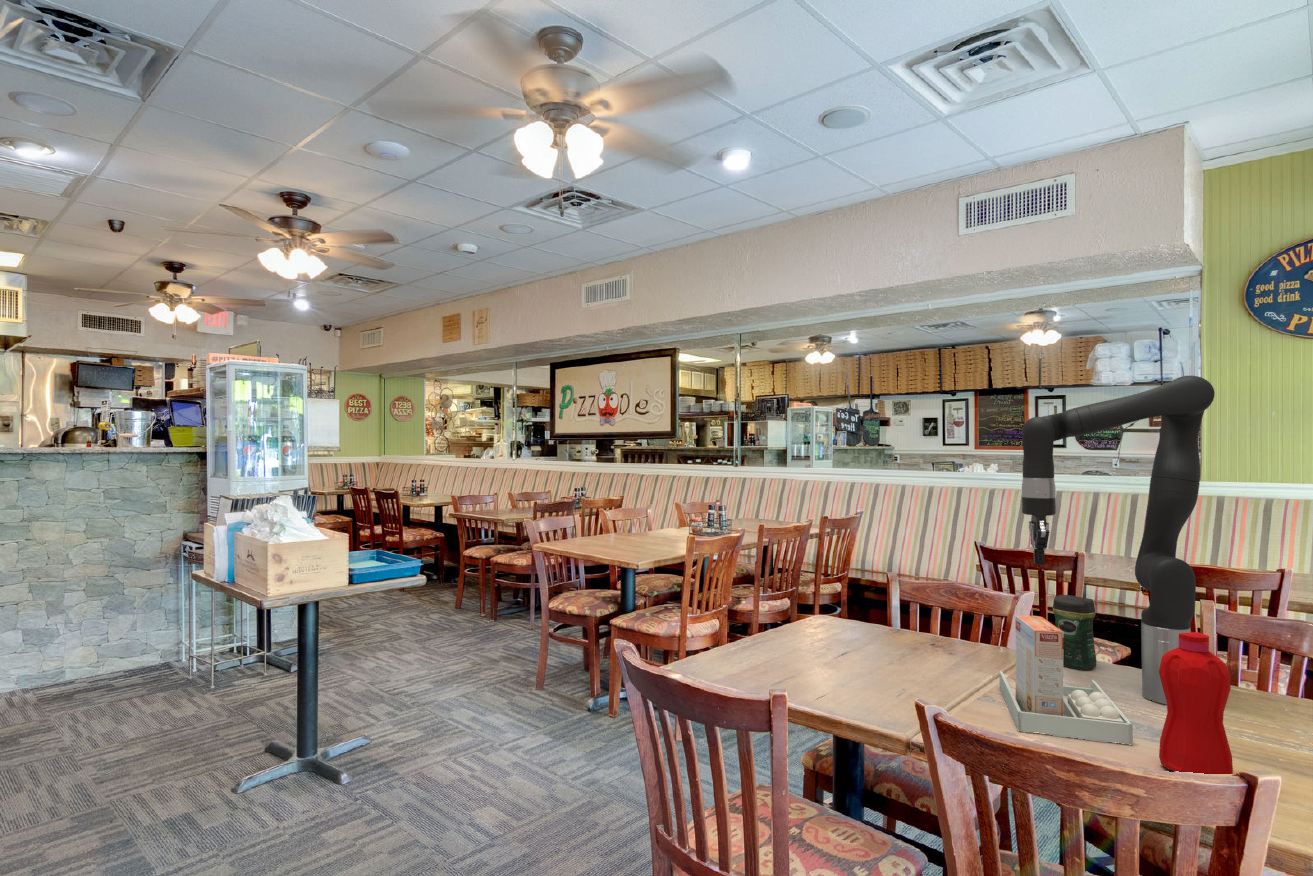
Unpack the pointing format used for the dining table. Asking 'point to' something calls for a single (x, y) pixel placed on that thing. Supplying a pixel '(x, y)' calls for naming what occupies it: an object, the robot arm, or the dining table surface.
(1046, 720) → the grey shallow rectangular frame
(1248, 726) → the dining table surface
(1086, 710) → the egg carton
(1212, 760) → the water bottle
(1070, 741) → the dining table surface
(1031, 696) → the cracker box
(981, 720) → the dining table surface
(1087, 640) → the coffee jar
